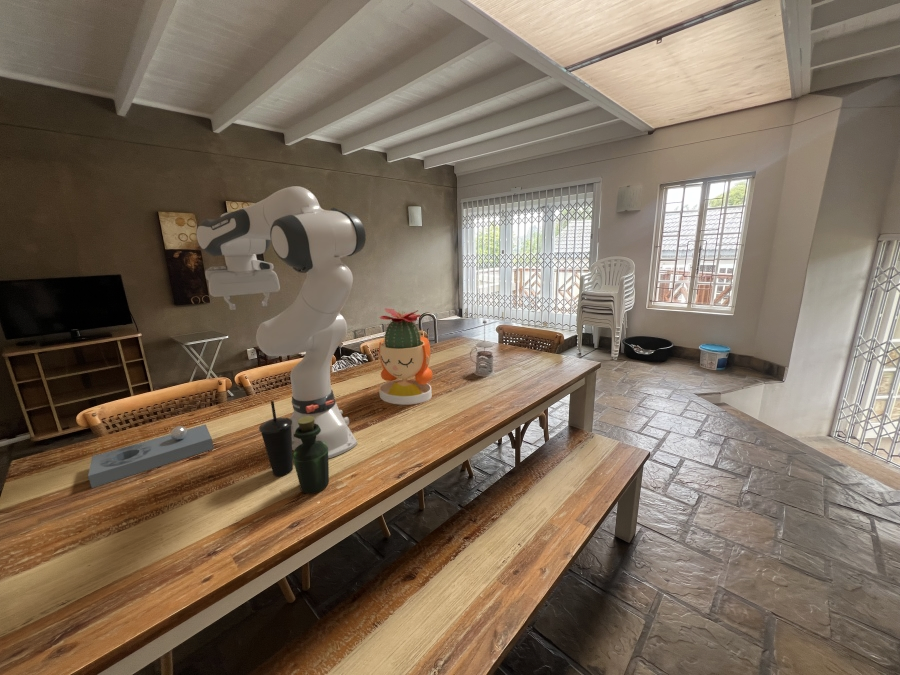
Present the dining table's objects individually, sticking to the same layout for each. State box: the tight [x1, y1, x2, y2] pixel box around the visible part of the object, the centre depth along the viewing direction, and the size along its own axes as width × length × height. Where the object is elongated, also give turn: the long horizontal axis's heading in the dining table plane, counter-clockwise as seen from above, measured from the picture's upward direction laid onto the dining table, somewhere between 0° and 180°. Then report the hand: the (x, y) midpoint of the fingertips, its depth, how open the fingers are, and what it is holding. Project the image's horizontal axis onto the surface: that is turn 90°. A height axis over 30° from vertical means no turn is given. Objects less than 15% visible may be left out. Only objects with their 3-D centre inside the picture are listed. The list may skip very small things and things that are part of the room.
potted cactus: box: [377, 308, 434, 406], centre depth 138 cm, size 22×22×35 cm
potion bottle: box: [292, 416, 330, 495], centre depth 84 cm, size 8×8×18 cm
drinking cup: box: [258, 400, 294, 477], centre depth 90 cm, size 8×8×20 cm
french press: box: [469, 320, 496, 377], centre depth 160 cm, size 10×12×25 cm
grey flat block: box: [87, 423, 215, 489], centre depth 100 cm, size 26×12×4 cm, turn 131°
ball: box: [170, 425, 188, 440], centre depth 103 cm, size 4×4×4 cm
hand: (249, 307), depth 116 cm, fingers open, 8 cm apart
